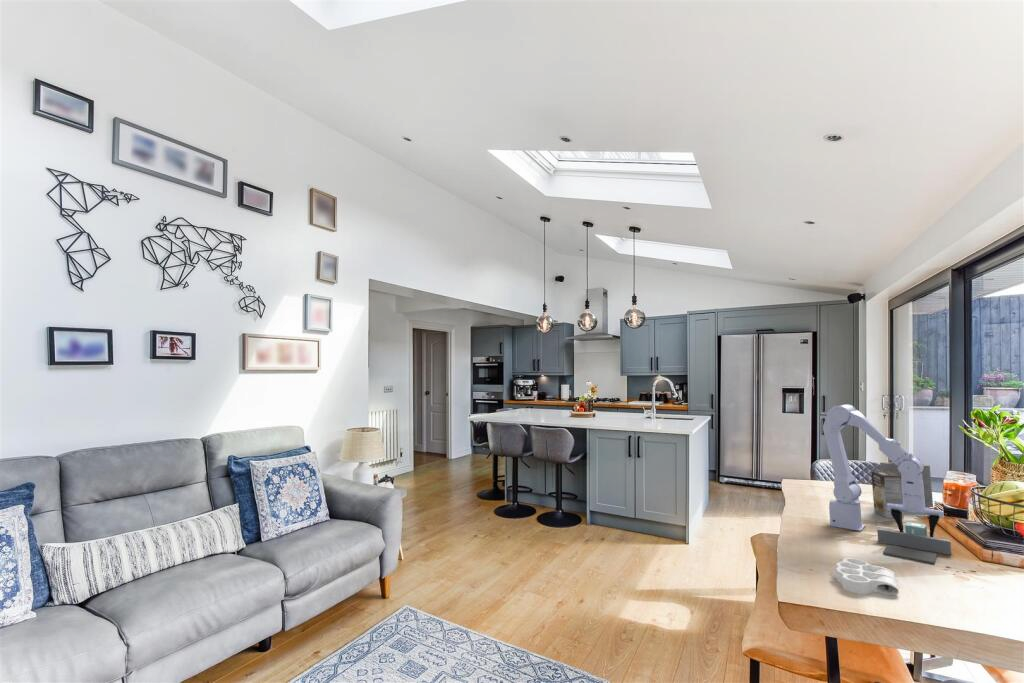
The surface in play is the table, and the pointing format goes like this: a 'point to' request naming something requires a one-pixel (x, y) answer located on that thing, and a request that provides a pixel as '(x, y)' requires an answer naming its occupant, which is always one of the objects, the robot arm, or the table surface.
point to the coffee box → (886, 491)
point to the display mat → (910, 554)
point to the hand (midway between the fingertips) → (916, 535)
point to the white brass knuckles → (864, 577)
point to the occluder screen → (914, 541)
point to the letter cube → (916, 528)
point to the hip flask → (925, 473)
